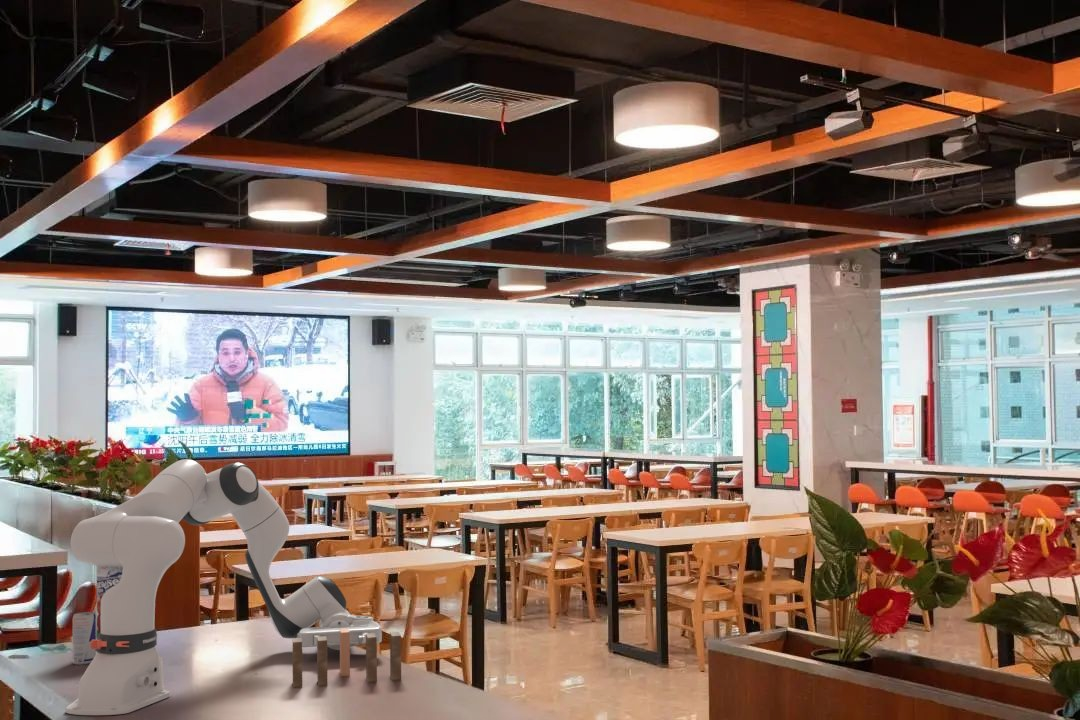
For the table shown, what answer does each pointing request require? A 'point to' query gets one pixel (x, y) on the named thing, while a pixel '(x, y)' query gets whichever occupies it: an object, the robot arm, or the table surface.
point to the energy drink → (83, 637)
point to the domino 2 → (322, 660)
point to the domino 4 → (371, 657)
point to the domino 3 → (344, 652)
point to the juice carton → (105, 586)
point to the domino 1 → (297, 662)
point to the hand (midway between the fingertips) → (342, 641)
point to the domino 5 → (395, 656)
